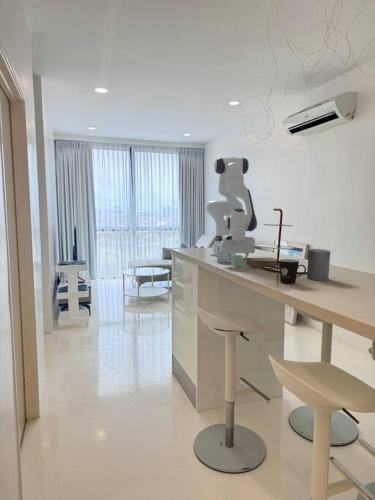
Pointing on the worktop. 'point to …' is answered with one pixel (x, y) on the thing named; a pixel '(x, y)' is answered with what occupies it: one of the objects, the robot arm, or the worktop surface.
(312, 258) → the pillar candle
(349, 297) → the worktop surface
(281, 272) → the coffee mug
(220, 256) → the light bulb box
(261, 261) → the walnut plinth
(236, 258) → the sage block
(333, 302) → the worktop surface
